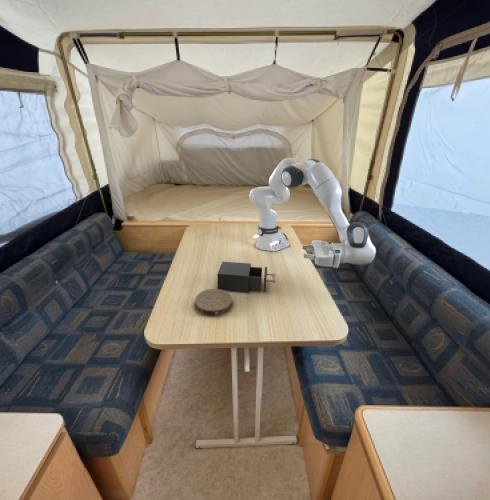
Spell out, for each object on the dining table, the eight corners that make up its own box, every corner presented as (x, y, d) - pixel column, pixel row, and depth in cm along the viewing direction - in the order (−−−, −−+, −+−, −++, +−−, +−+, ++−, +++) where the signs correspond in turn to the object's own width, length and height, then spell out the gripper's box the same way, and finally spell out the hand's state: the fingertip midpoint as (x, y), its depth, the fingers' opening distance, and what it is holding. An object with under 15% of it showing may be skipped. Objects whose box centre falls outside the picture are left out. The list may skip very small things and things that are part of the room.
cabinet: (250, 279, 137) (251, 263, 133) (248, 292, 125) (248, 276, 121) (222, 276, 138) (222, 261, 134) (217, 290, 127) (217, 273, 123)
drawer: (274, 280, 134) (275, 267, 131) (274, 292, 124) (275, 279, 121) (240, 277, 136) (240, 264, 133) (237, 289, 126) (237, 276, 123)
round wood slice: (235, 296, 122) (235, 291, 121) (226, 319, 108) (226, 313, 107) (202, 292, 125) (202, 286, 124) (189, 313, 111) (189, 307, 110)
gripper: (332, 237, 125) (302, 236, 127) (340, 256, 107) (305, 253, 109) (330, 250, 128) (301, 248, 130) (338, 270, 109) (303, 267, 111)
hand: (303, 251), depth 119 cm, fingers open, 8 cm apart
